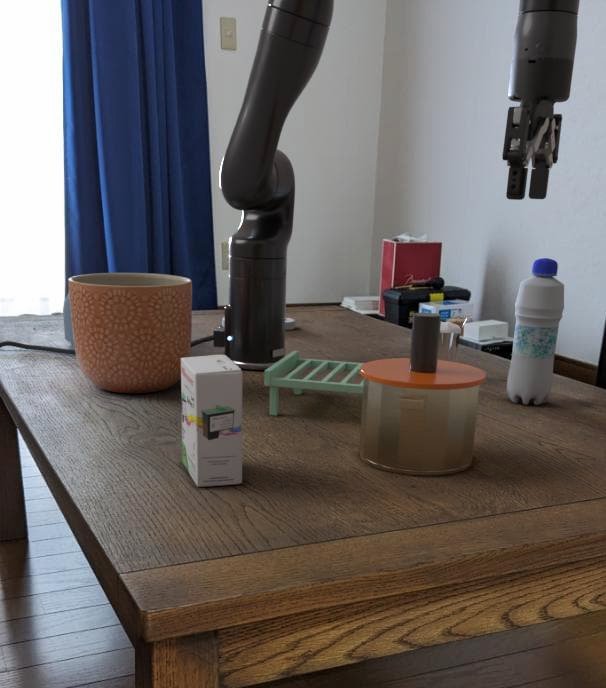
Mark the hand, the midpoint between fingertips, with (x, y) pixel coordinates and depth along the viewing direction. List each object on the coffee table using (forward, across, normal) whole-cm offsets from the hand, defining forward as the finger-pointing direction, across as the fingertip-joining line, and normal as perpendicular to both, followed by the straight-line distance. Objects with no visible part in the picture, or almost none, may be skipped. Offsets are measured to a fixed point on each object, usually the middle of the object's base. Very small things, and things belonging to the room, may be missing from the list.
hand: (526, 199), depth 116 cm
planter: (+28, +23, -48) cm, 60 cm away
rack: (+28, +16, -19) cm, 37 cm away
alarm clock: (+28, +1, -71) cm, 76 cm away
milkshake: (+28, -11, -14) cm, 33 cm away
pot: (+28, +30, +1) cm, 41 cm away
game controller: (+28, -32, -64) cm, 76 cm away
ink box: (+28, +49, -14) cm, 58 cm away
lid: (+18, +30, +1) cm, 35 cm away
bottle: (+28, -6, +2) cm, 28 cm away
